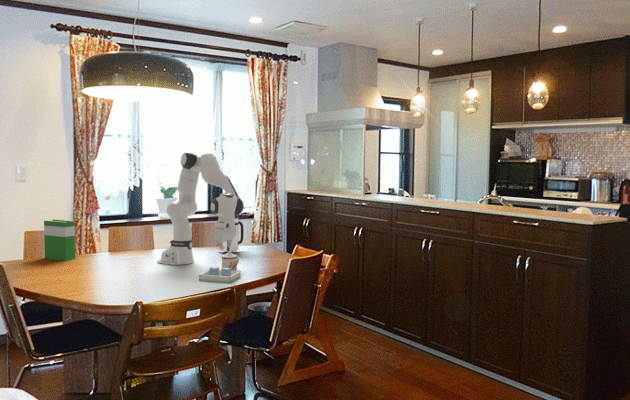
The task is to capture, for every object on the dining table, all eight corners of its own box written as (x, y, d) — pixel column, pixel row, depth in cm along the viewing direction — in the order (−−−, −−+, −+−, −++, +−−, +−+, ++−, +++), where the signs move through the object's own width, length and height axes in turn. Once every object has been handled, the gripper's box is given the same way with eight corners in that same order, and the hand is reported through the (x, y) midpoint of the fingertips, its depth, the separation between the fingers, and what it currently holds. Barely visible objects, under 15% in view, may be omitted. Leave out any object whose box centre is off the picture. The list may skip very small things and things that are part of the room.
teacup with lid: (229, 273, 311) (229, 253, 310) (218, 271, 316) (218, 251, 315) (243, 270, 321) (244, 250, 320) (232, 268, 326) (232, 248, 325)
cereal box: (44, 258, 345) (43, 220, 343) (54, 256, 352) (53, 219, 349) (65, 261, 338) (65, 222, 336) (75, 259, 345) (74, 221, 343)
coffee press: (239, 254, 369) (240, 210, 366) (216, 254, 369) (216, 210, 367) (243, 250, 386) (243, 208, 384) (220, 249, 386) (221, 207, 384)
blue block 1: (209, 277, 298) (209, 268, 298) (212, 275, 302) (212, 266, 302) (216, 277, 297) (216, 268, 297) (219, 276, 301) (219, 267, 301)
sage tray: (199, 280, 294) (199, 274, 294) (210, 274, 308) (210, 269, 308) (230, 282, 290) (230, 277, 290) (240, 277, 303) (240, 271, 303)
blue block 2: (221, 278, 297) (221, 269, 296) (224, 276, 300) (224, 267, 300) (227, 278, 296) (227, 269, 295) (230, 277, 299) (230, 268, 299)
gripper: (229, 220, 307) (228, 244, 309) (212, 224, 288) (212, 250, 289) (239, 221, 306) (238, 245, 307) (223, 225, 286) (223, 251, 287)
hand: (225, 248), depth 298 cm, fingers open, 8 cm apart
